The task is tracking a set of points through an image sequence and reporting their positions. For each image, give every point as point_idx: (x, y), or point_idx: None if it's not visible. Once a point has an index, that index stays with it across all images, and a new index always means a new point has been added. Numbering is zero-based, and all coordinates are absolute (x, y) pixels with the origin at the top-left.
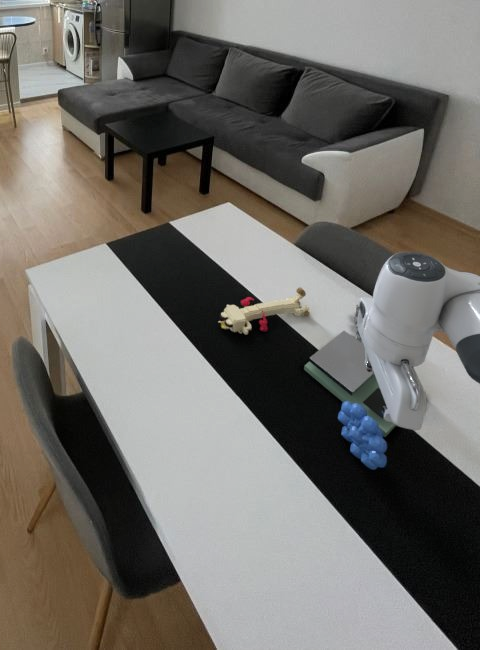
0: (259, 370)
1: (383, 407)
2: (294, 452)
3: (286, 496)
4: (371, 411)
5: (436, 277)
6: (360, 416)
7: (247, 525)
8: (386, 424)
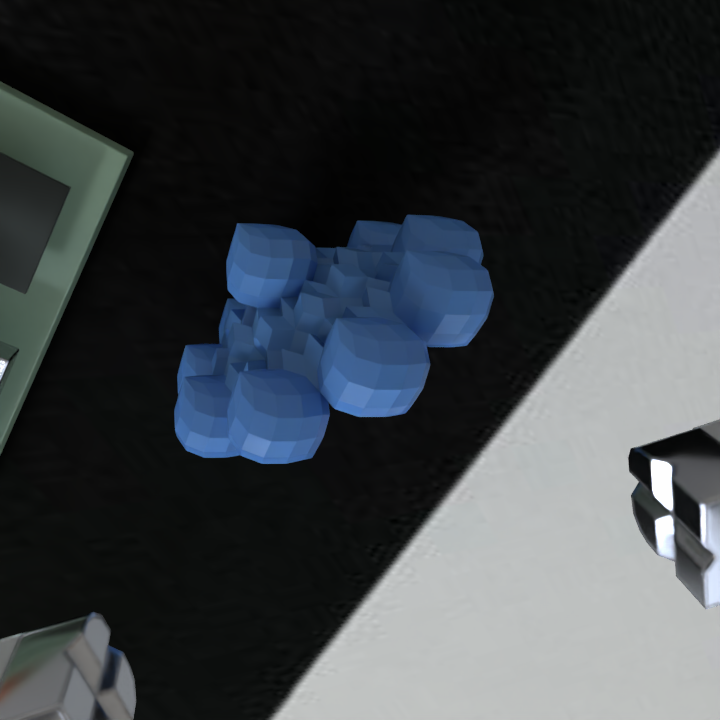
0: None
1: (713, 597)
2: (422, 489)
3: (587, 484)
4: None
5: None
6: (328, 417)
7: None
8: (68, 152)
